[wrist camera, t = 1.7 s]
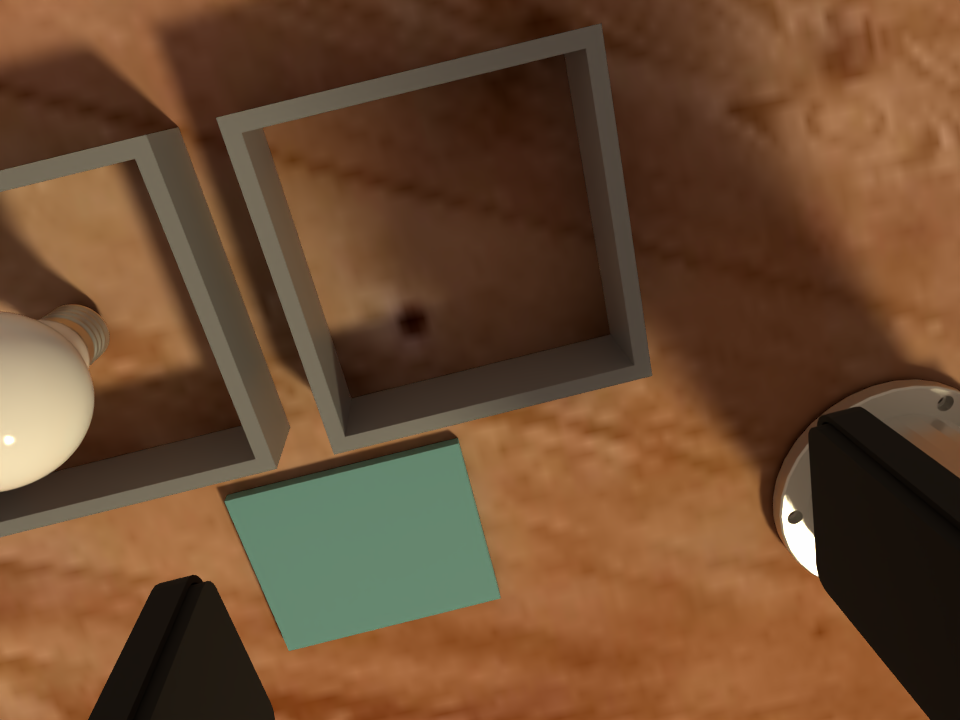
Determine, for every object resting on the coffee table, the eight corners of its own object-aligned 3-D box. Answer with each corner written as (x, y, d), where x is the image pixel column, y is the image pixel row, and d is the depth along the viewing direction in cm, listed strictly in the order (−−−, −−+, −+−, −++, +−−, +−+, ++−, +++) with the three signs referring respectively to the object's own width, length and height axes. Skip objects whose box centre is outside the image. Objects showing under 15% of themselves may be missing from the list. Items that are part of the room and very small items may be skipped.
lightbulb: (180, 371, 34) (82, 500, 23) (50, 407, 34) (-104, 552, 23) (120, 242, 31) (-18, 324, 21) (-20, 281, 31) (-225, 382, 21)
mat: (457, 437, 36) (458, 443, 36) (499, 590, 40) (500, 598, 40) (227, 494, 36) (224, 501, 36) (290, 643, 40) (288, 651, 39)
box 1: (178, 126, 30) (146, 134, 26) (290, 427, 35) (276, 468, 31) (-161, 210, 30) (-243, 229, 26) (4, 497, 35) (-43, 547, 31)
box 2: (577, 29, 30) (601, 23, 26) (626, 344, 35) (652, 375, 32) (239, 112, 30) (216, 117, 26) (341, 414, 35) (334, 454, 31)
